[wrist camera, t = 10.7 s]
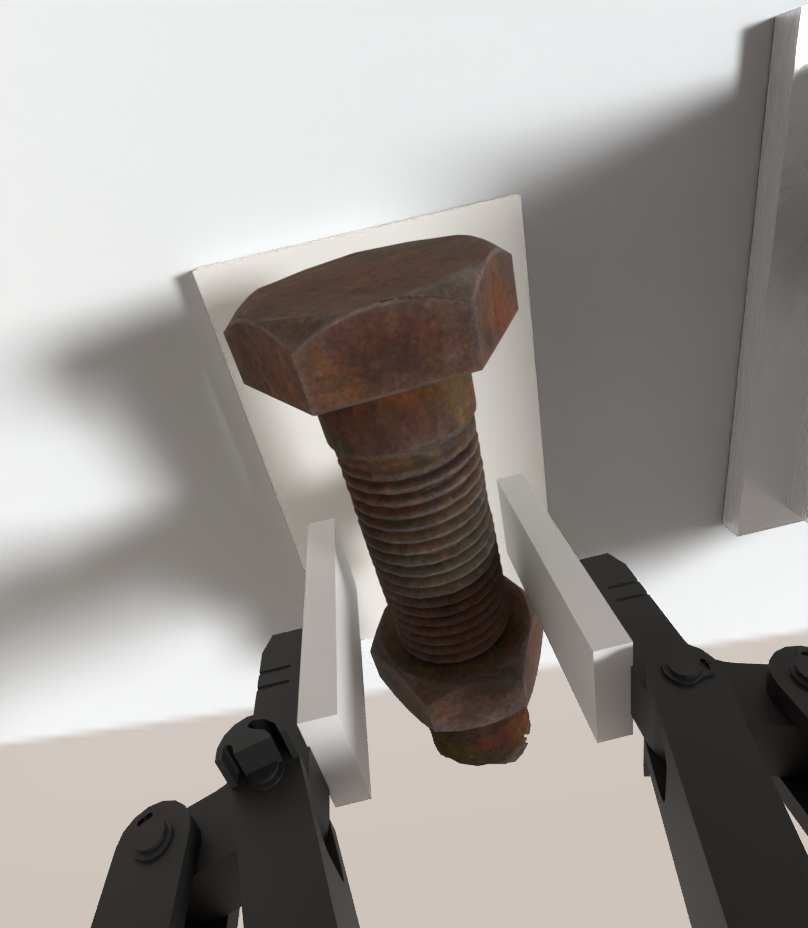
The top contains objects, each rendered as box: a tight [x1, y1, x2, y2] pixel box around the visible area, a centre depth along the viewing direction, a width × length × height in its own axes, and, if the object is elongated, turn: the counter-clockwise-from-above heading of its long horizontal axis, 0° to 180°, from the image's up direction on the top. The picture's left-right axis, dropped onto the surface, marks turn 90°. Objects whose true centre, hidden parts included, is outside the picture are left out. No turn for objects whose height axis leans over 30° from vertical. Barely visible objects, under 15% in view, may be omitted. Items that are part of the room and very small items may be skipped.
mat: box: [192, 195, 548, 640], centre depth 20 cm, size 16×10×1 cm, turn 12°
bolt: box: [223, 235, 543, 766], centre depth 14 cm, size 6×5×15 cm
